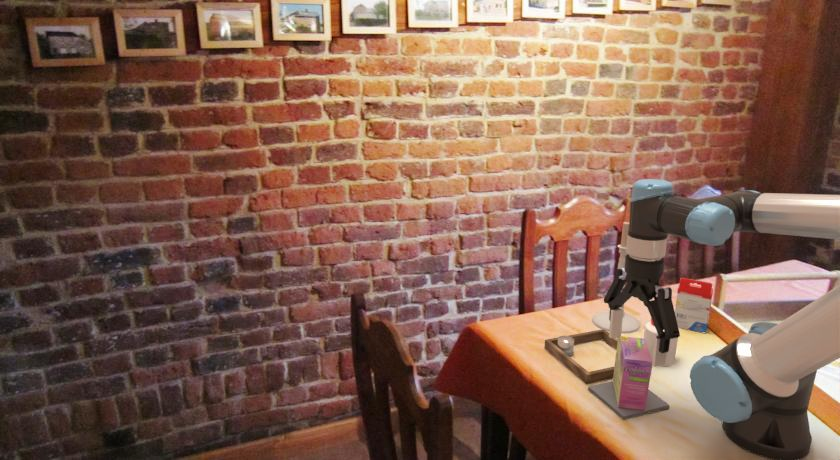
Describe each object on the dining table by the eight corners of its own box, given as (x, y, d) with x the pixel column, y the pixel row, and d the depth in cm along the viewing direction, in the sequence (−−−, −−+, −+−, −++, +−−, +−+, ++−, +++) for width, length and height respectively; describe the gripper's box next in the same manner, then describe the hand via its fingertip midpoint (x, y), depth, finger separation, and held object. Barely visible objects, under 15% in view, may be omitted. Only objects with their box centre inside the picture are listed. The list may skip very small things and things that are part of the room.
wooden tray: (649, 370, 138) (650, 361, 138) (586, 384, 132) (587, 374, 132) (602, 337, 155) (603, 329, 154) (544, 348, 149) (545, 339, 148)
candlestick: (589, 328, 160) (599, 224, 151) (595, 310, 171) (604, 212, 162) (638, 336, 155) (652, 230, 146) (640, 317, 166) (653, 217, 157)
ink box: (707, 327, 161) (716, 278, 156) (705, 334, 157) (713, 283, 152) (675, 319, 165) (682, 271, 161) (672, 326, 161) (679, 277, 157)
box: (646, 411, 121) (653, 361, 118) (617, 408, 122) (623, 358, 119) (638, 384, 131) (644, 337, 127) (612, 382, 132) (617, 335, 128)
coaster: (669, 408, 123) (669, 405, 123) (623, 419, 120) (623, 416, 119) (631, 379, 134) (631, 376, 134) (588, 389, 130) (588, 386, 130)
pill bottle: (679, 357, 144) (685, 317, 141) (667, 369, 139) (673, 328, 136) (648, 347, 149) (653, 308, 146) (636, 358, 144) (641, 318, 141)
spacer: (576, 355, 145) (577, 341, 144) (562, 358, 144) (563, 344, 143) (567, 348, 149) (568, 334, 147) (553, 351, 147) (554, 337, 146)
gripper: (708, 272, 107) (694, 374, 113) (620, 237, 130) (612, 323, 135) (676, 278, 105) (663, 382, 110) (592, 241, 127) (585, 328, 133)
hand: (635, 350), depth 123 cm, fingers open, 13 cm apart
